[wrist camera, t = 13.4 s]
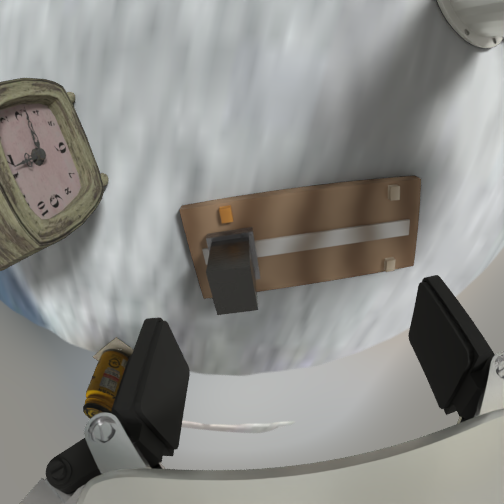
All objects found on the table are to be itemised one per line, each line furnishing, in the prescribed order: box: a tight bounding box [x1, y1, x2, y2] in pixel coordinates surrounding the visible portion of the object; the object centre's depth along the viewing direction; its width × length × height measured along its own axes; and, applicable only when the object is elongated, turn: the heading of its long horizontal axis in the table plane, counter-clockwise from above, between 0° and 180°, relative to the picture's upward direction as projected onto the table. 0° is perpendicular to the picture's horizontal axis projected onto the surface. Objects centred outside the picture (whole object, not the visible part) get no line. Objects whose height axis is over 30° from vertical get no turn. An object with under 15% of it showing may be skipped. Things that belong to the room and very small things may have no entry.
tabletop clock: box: [0, 78, 108, 271], centre depth 19 cm, size 14×9×25 cm, turn 18°
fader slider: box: [206, 227, 260, 315], centre depth 32 cm, size 5×6×7 cm
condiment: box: [83, 337, 134, 419], centre depth 41 cm, size 7×8×12 cm
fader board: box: [179, 176, 421, 299], centre depth 35 cm, size 28×12×2 cm, turn 99°
